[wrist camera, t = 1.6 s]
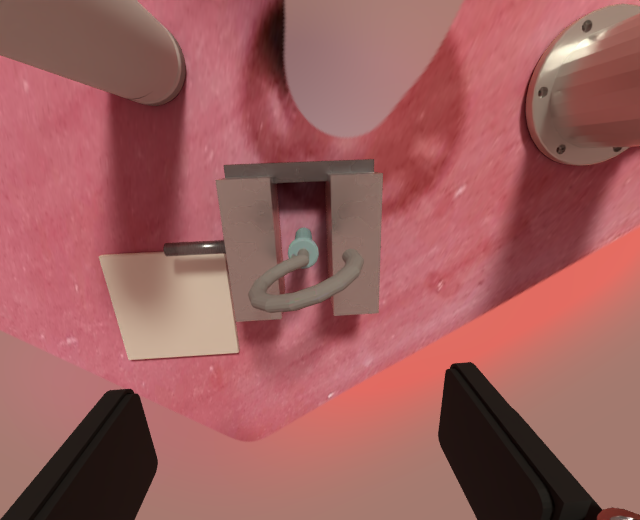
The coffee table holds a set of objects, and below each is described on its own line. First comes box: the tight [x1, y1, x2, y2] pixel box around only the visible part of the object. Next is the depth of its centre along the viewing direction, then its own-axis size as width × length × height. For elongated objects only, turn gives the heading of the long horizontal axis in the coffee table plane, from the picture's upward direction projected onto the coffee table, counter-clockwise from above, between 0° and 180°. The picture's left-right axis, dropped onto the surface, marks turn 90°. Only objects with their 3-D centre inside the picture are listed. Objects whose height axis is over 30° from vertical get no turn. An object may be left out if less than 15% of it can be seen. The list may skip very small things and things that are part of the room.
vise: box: [164, 159, 383, 322], centre depth 27 cm, size 19×13×6 cm
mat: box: [99, 252, 240, 360], centre depth 31 cm, size 12×12×1 cm
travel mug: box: [0, 0, 186, 106], centre depth 15 cm, size 6×7×20 cm
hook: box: [248, 228, 364, 313], centre depth 23 cm, size 8×2×15 cm, turn 108°
